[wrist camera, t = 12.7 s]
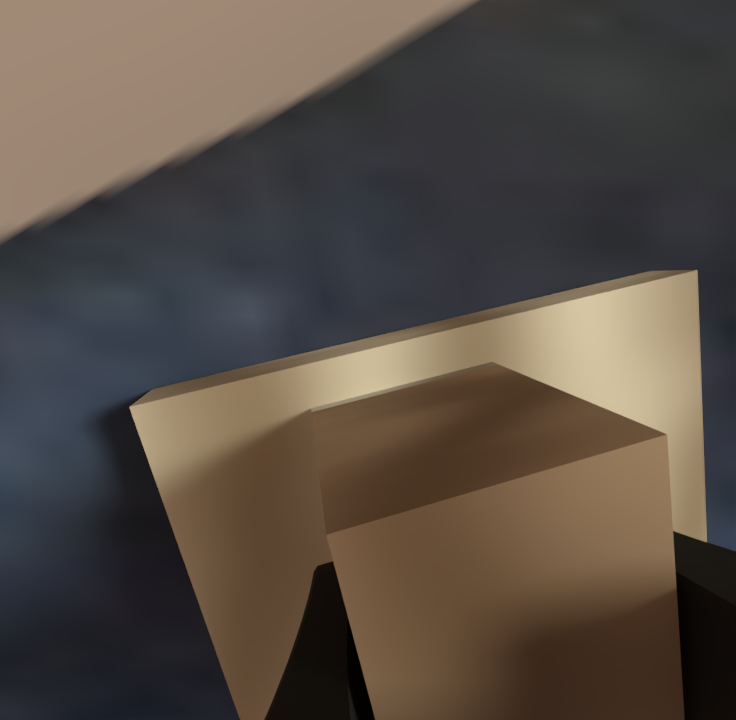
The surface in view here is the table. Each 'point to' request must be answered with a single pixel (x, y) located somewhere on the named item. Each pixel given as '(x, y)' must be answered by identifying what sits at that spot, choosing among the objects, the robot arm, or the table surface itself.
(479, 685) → the block
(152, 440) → the board
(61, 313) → the table surface
